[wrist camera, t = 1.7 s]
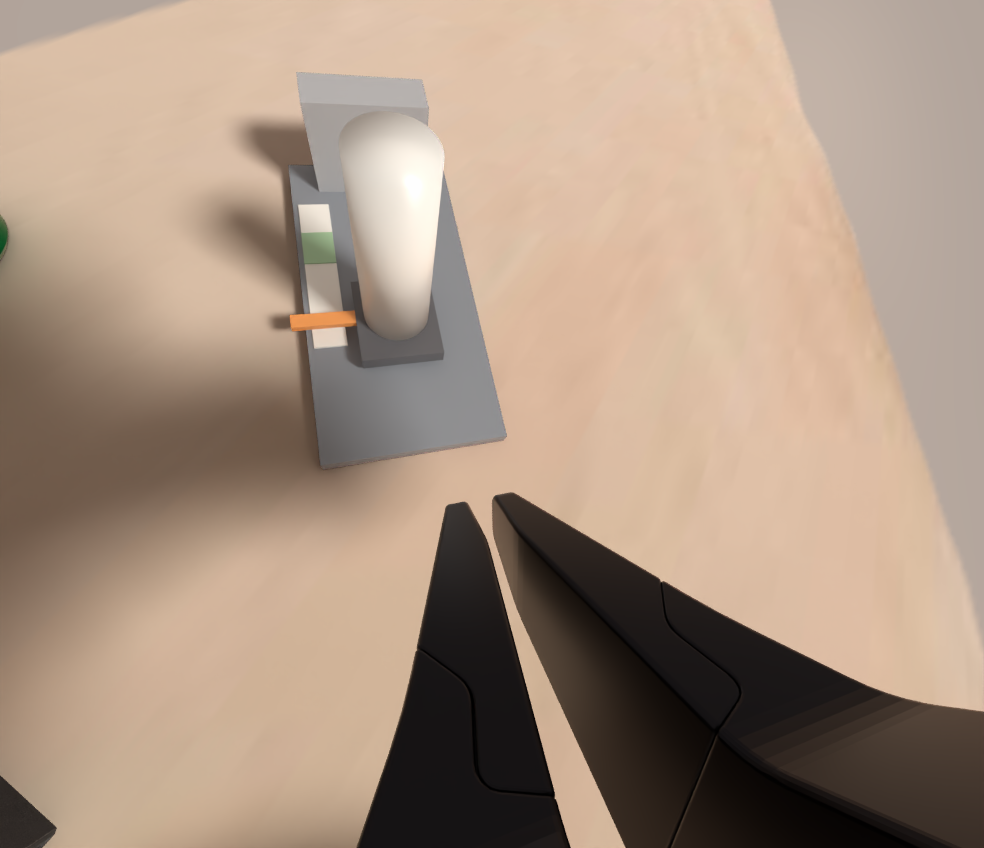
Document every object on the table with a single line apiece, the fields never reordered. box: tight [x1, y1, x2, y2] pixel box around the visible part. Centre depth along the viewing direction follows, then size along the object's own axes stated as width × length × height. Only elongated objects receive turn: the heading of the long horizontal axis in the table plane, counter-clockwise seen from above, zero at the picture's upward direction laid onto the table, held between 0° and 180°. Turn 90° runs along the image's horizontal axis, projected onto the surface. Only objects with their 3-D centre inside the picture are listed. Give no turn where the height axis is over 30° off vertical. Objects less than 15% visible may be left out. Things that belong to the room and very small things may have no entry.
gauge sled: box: [290, 111, 444, 368], centre depth 17 cm, size 4×7×10 cm, turn 103°
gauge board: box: [288, 72, 507, 470], centre depth 21 cm, size 18×9×6 cm, turn 13°
